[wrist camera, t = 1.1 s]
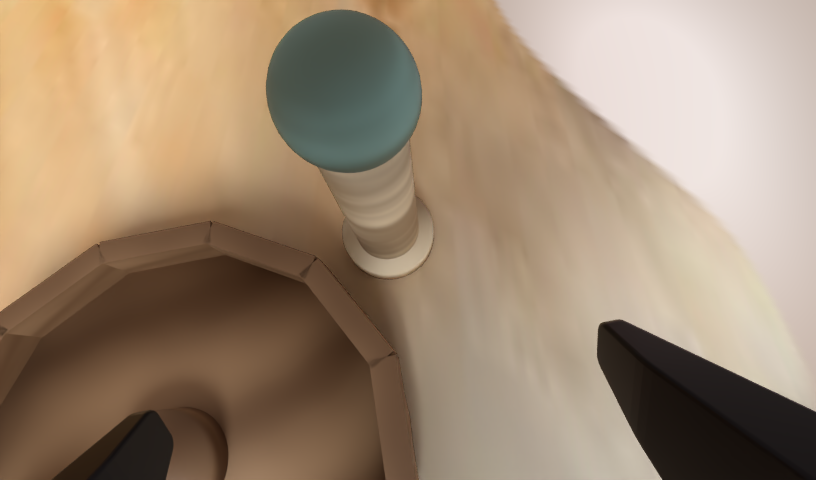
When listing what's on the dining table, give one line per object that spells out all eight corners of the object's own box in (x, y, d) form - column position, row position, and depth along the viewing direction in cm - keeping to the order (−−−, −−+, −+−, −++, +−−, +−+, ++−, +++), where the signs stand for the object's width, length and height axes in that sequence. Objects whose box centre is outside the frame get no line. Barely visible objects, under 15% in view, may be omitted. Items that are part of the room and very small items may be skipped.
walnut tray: (512, 495, 19) (525, 515, 16) (83, 927, 16) (4, 1049, 13) (252, 174, 26) (230, 148, 23) (-96, 428, 22) (-175, 435, 19)
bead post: (451, 240, 23) (476, 39, 10) (383, 297, 23) (303, 168, 9) (395, 180, 25) (346, -68, 11) (329, 232, 24) (187, 33, 10)
